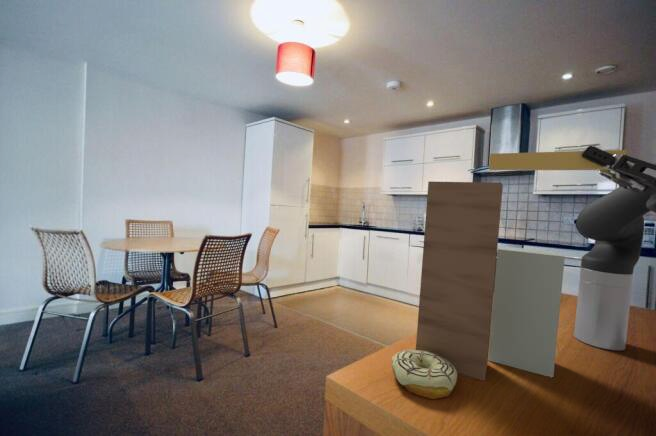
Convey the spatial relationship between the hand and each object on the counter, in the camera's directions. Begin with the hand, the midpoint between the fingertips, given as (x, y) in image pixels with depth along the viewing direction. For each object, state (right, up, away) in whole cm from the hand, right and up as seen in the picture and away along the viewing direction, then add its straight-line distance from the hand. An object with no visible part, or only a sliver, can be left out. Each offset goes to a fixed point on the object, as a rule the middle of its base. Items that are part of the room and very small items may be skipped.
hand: (583, 152), depth 57 cm
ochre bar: (-4, -3, +3) cm, 6 cm away
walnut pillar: (-23, -39, +3) cm, 46 cm away
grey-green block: (-8, -40, +6) cm, 41 cm away
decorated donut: (-30, -40, -4) cm, 50 cm away
